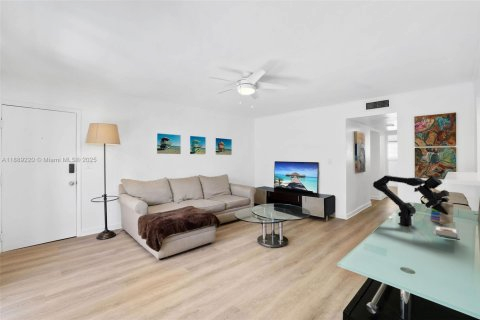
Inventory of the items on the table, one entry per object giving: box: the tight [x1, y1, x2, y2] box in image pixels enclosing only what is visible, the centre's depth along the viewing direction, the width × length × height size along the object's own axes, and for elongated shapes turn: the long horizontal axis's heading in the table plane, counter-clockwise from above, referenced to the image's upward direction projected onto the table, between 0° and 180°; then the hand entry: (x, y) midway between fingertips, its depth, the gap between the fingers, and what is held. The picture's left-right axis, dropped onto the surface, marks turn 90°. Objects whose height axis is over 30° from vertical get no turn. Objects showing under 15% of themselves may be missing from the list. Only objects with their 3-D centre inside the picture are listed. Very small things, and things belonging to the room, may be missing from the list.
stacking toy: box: [429, 206, 440, 223], centre depth 162 cm, size 8×8×19 cm
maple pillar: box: [439, 202, 454, 227], centre depth 135 cm, size 5×5×13 cm
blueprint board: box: [432, 224, 461, 241], centre depth 139 cm, size 24×12×4 cm, turn 136°
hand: (449, 214), depth 133 cm, fingers closed on maple pillar, 5 cm apart
